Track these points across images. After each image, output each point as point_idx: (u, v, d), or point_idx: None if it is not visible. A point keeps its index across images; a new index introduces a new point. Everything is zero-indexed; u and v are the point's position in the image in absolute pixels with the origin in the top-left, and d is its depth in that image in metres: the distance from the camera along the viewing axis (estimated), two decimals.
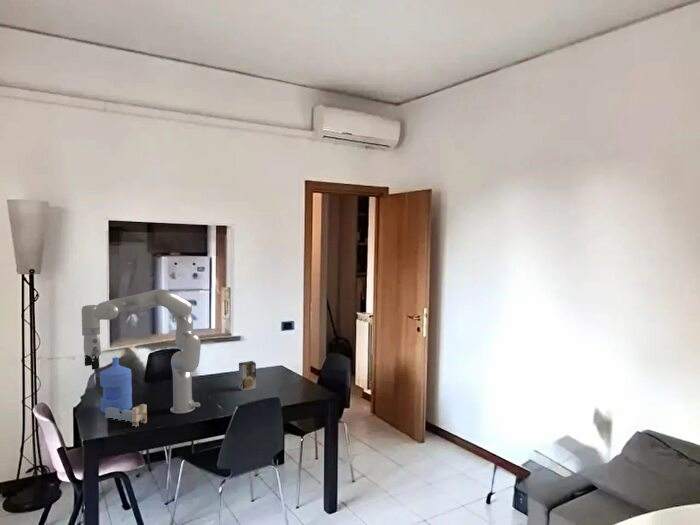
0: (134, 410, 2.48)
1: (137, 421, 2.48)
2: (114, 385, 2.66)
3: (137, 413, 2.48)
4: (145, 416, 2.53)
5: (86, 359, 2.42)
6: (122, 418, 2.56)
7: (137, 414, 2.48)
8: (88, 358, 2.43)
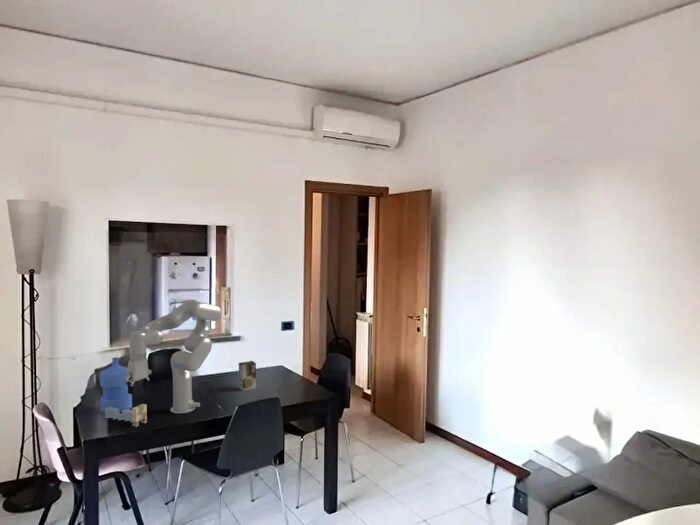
0: (134, 410, 2.48)
1: (137, 421, 2.48)
2: (114, 385, 2.66)
3: (137, 413, 2.48)
4: (145, 416, 2.53)
5: None
6: (122, 418, 2.56)
7: (137, 414, 2.48)
8: None
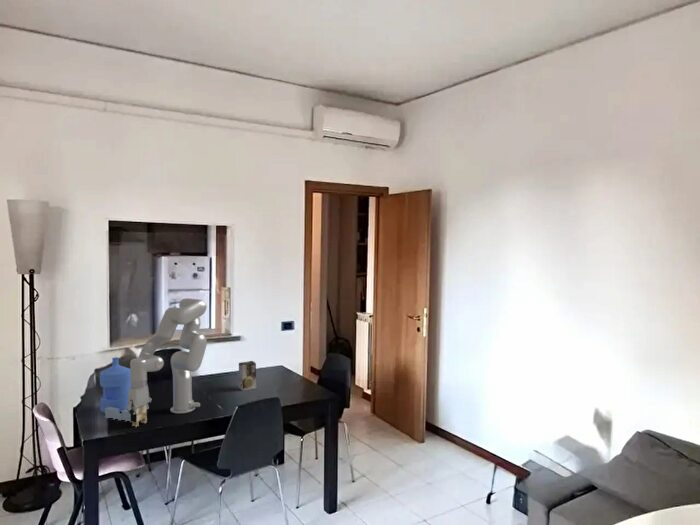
0: None
1: (137, 421, 2.48)
2: (114, 385, 2.66)
3: (137, 413, 2.48)
4: (145, 416, 2.53)
5: None
6: (122, 418, 2.56)
7: (137, 414, 2.48)
8: None
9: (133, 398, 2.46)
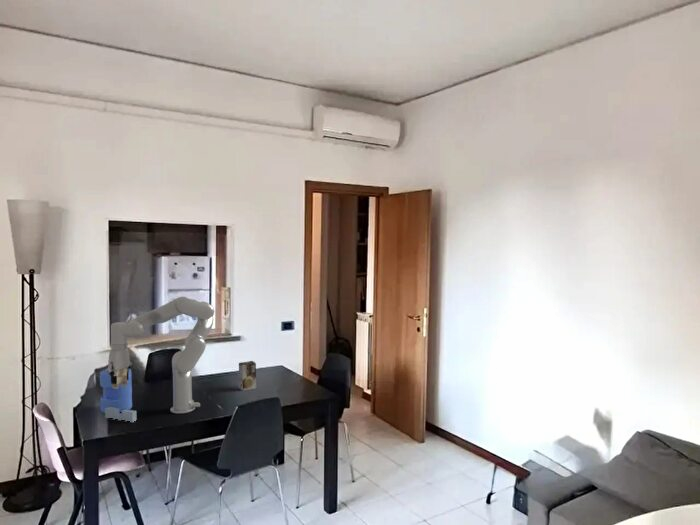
0: None
1: (118, 383, 2.54)
2: None
3: (117, 375, 2.54)
4: (125, 379, 2.59)
5: None
6: (122, 418, 2.56)
7: (118, 377, 2.54)
8: None
9: (113, 360, 2.52)
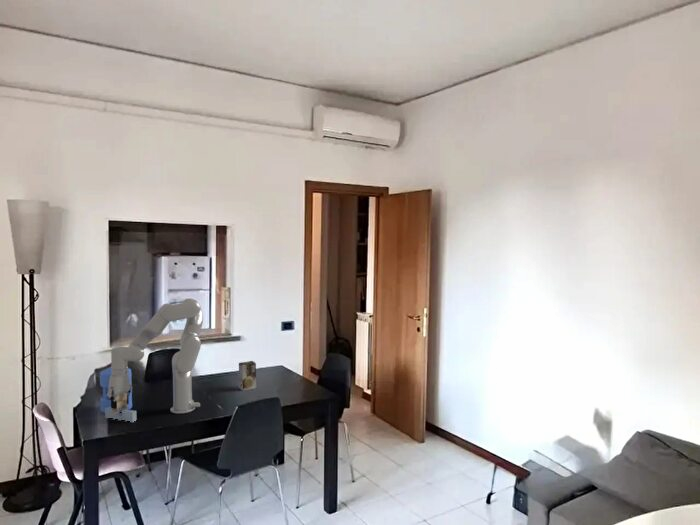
0: None
1: (118, 408, 2.55)
2: None
3: (117, 400, 2.55)
4: (125, 403, 2.60)
5: None
6: (122, 418, 2.56)
7: (118, 401, 2.55)
8: None
9: (113, 385, 2.52)
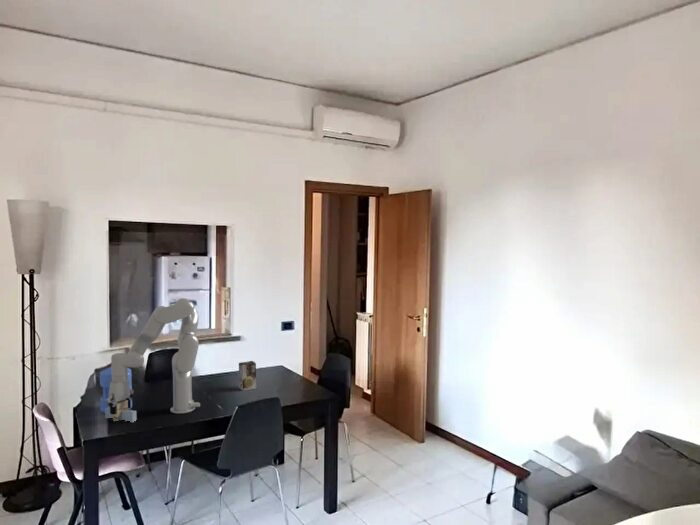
0: (115, 405, 2.55)
1: (118, 416, 2.55)
2: None
3: (118, 408, 2.55)
4: None
5: None
6: (122, 418, 2.56)
7: (118, 409, 2.55)
8: None
9: (114, 392, 2.53)
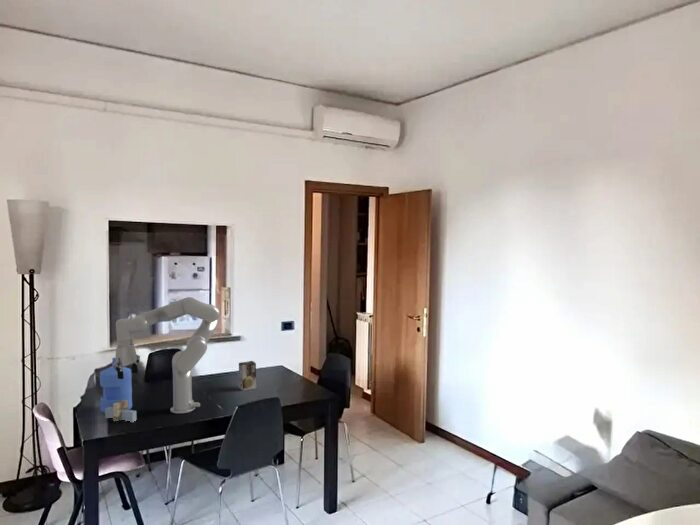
0: (115, 405, 2.55)
1: (118, 416, 2.55)
2: (114, 385, 2.66)
3: (118, 408, 2.55)
4: None
5: None
6: (122, 418, 2.56)
7: (118, 409, 2.55)
8: None
9: (120, 357, 2.54)
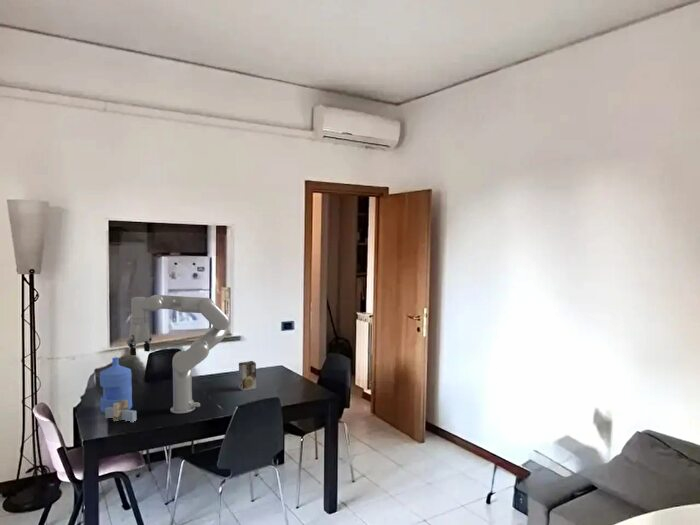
0: (115, 405, 2.55)
1: (118, 416, 2.55)
2: (114, 385, 2.66)
3: (118, 408, 2.55)
4: None
5: None
6: (122, 418, 2.56)
7: (118, 409, 2.55)
8: None
9: (134, 333, 2.59)
